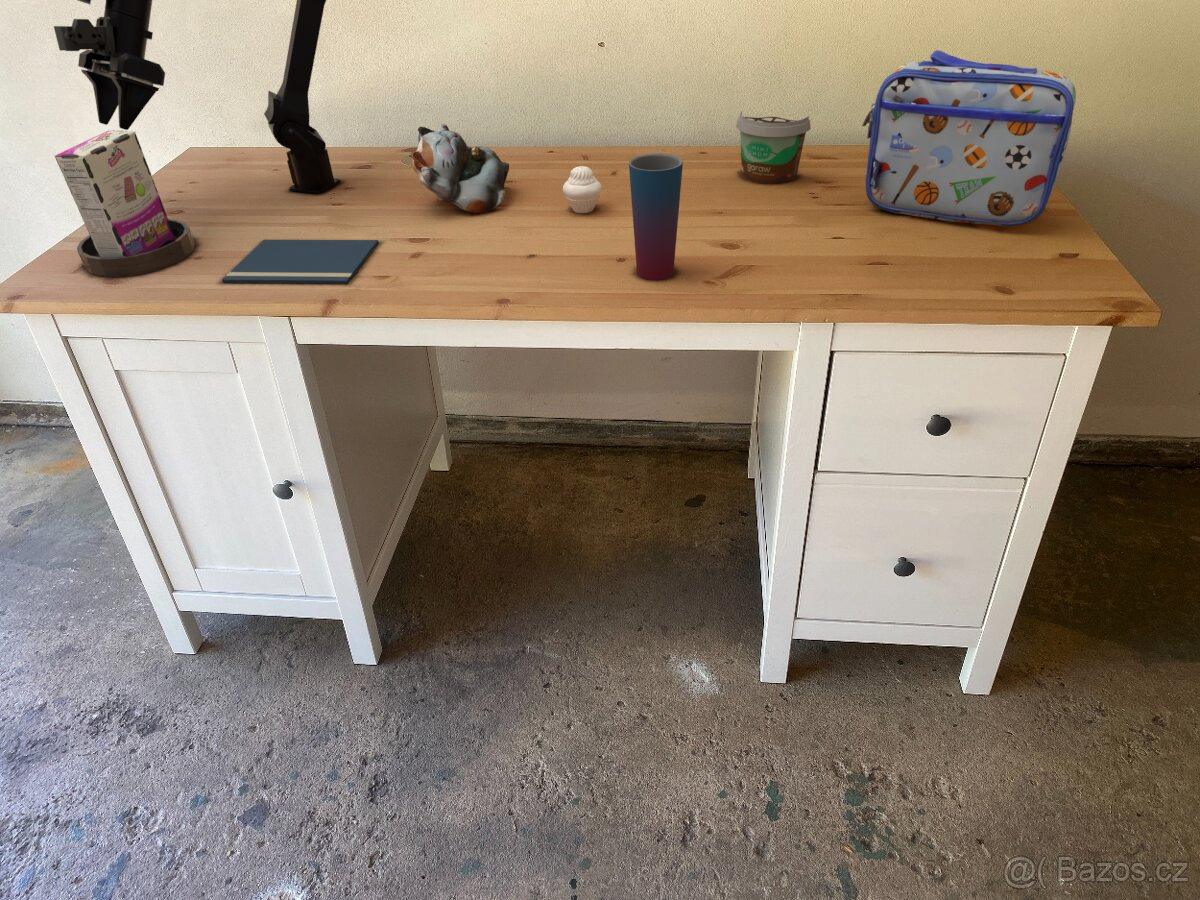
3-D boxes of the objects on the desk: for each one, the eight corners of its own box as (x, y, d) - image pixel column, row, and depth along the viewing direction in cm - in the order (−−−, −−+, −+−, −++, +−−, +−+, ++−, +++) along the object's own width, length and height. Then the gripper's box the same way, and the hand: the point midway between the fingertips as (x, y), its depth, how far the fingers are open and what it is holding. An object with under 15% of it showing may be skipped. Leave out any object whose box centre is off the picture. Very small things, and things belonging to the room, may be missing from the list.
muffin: (572, 201, 136) (569, 158, 132) (607, 204, 134) (606, 161, 130) (558, 215, 131) (555, 170, 127) (594, 218, 130) (592, 174, 126)
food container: (725, 182, 141) (728, 120, 135) (734, 170, 145) (738, 110, 139) (798, 189, 137) (804, 126, 131) (805, 176, 141) (812, 115, 135)
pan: (216, 241, 128) (210, 223, 126) (141, 282, 117) (133, 264, 115) (140, 230, 133) (133, 213, 131) (61, 270, 121) (52, 252, 120)
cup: (627, 263, 116) (625, 154, 107) (675, 260, 116) (678, 151, 107) (633, 284, 111) (631, 172, 102) (684, 281, 111) (687, 168, 102)
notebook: (378, 242, 125) (377, 239, 125) (347, 283, 114) (346, 280, 114) (264, 242, 127) (263, 239, 127) (222, 282, 116) (221, 279, 116)
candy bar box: (148, 237, 129) (107, 129, 120) (177, 239, 128) (137, 130, 119) (100, 268, 121) (51, 153, 111) (130, 270, 120) (84, 154, 110)
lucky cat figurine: (498, 217, 131) (445, 145, 122) (440, 239, 137) (385, 172, 128) (520, 160, 140) (472, 89, 131) (464, 183, 146) (414, 116, 137)
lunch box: (845, 211, 128) (867, 57, 115) (862, 190, 135) (885, 42, 122) (1039, 239, 117) (1088, 72, 104) (1046, 214, 124) (1093, 55, 111)
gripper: (45, -5, 122) (33, 104, 125) (85, -7, 110) (70, 114, 113) (128, 25, 130) (114, 127, 133) (173, 26, 118) (157, 138, 122)
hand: (113, 126), depth 125 cm, fingers open, 9 cm apart
